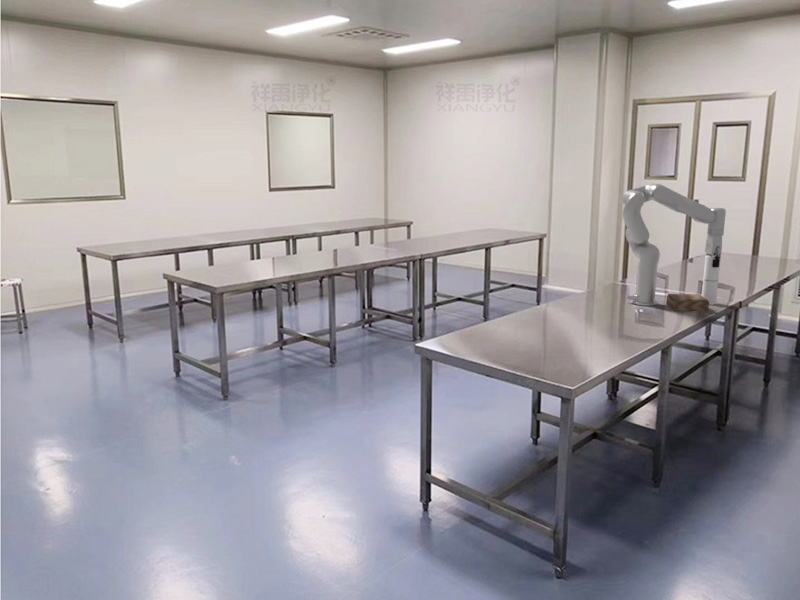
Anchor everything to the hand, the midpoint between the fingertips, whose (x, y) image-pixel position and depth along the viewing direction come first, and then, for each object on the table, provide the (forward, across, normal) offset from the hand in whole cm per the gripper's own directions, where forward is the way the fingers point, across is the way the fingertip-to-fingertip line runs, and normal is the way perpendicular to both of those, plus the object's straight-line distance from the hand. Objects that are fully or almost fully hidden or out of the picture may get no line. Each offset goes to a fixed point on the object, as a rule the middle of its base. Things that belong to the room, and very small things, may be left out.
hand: (712, 265), depth 328 cm
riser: (+20, +12, -15) cm, 28 cm away
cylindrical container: (+20, 0, 0) cm, 20 cm away
